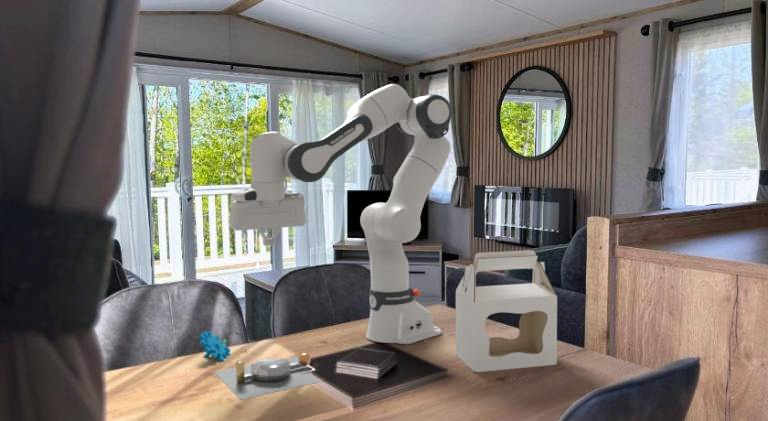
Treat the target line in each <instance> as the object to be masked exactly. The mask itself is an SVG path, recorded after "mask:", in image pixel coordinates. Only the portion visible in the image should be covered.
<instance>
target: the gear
mask: <svg viewBox="0 0 768 421" xmlns="http://www.w3.org/2000/svg"><path fill="white" fill-rule="evenodd" d="M213 336H214V333H213V332H212V331H208V332H207V331H203V332H202V333H201V334H200V335H199V337H198V338H199V340H200V341H199V344H200V346H204V348H203V350H204V352H205V354H204V355H203V356H202V358H206V359H207V358H209V357H211V358H212V359H214V360H215V359H216V358H217V357H218V359H217V360H218V362H223V361H225V360H227V359H228V358H229V357H230V356H231V355H232V354H231V353H230V352H231V348H230V347H227V346H226V345H227V339H226V338H224V339H223V340H221V337H220V336H219V335H218V334H216V335H215V336H214V337H213Z"/></svg>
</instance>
